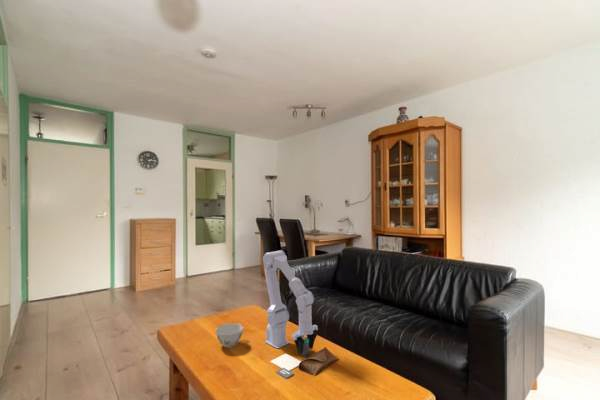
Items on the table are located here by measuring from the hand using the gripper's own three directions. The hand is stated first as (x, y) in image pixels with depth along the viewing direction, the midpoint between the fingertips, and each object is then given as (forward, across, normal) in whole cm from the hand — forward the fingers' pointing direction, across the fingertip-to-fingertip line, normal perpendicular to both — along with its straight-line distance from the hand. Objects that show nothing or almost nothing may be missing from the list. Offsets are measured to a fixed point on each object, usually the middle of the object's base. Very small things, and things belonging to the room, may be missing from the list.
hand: (305, 350), depth 131 cm
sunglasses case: (+3, -1, -9) cm, 10 cm away
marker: (+2, 0, 0) cm, 2 cm away
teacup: (+2, -17, +33) cm, 37 cm away
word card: (+2, -16, -4) cm, 17 cm away
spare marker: (+2, +3, +6) cm, 7 cm away
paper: (+2, -10, +2) cm, 10 cm away
